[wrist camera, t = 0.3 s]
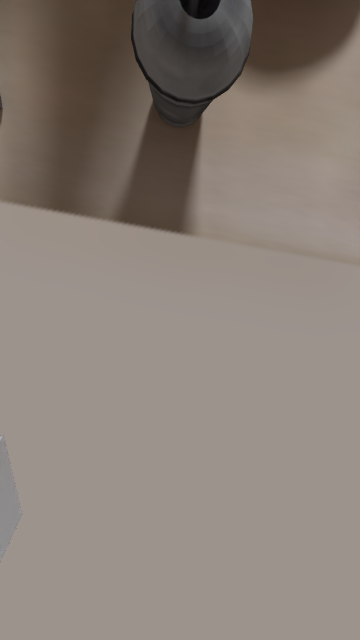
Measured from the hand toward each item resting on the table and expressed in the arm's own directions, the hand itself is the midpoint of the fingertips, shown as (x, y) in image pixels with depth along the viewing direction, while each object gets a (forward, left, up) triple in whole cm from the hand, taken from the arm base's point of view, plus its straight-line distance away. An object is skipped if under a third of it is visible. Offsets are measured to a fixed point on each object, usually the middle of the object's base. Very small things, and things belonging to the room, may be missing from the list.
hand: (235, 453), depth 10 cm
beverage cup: (-17, +1, -28) cm, 33 cm away
